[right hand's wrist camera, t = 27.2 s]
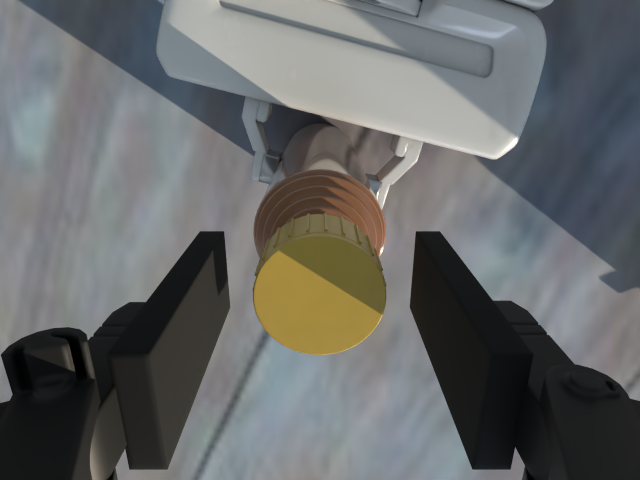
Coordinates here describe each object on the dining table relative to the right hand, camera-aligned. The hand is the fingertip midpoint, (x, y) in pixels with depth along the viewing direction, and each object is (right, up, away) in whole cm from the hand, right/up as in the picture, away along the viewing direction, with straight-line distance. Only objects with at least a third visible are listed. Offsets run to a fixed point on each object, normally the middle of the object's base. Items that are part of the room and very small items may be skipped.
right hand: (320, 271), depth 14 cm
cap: (0, -1, -1) cm, 2 cm away
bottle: (0, +7, +19) cm, 20 cm away
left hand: (0, +4, +13) cm, 13 cm away
